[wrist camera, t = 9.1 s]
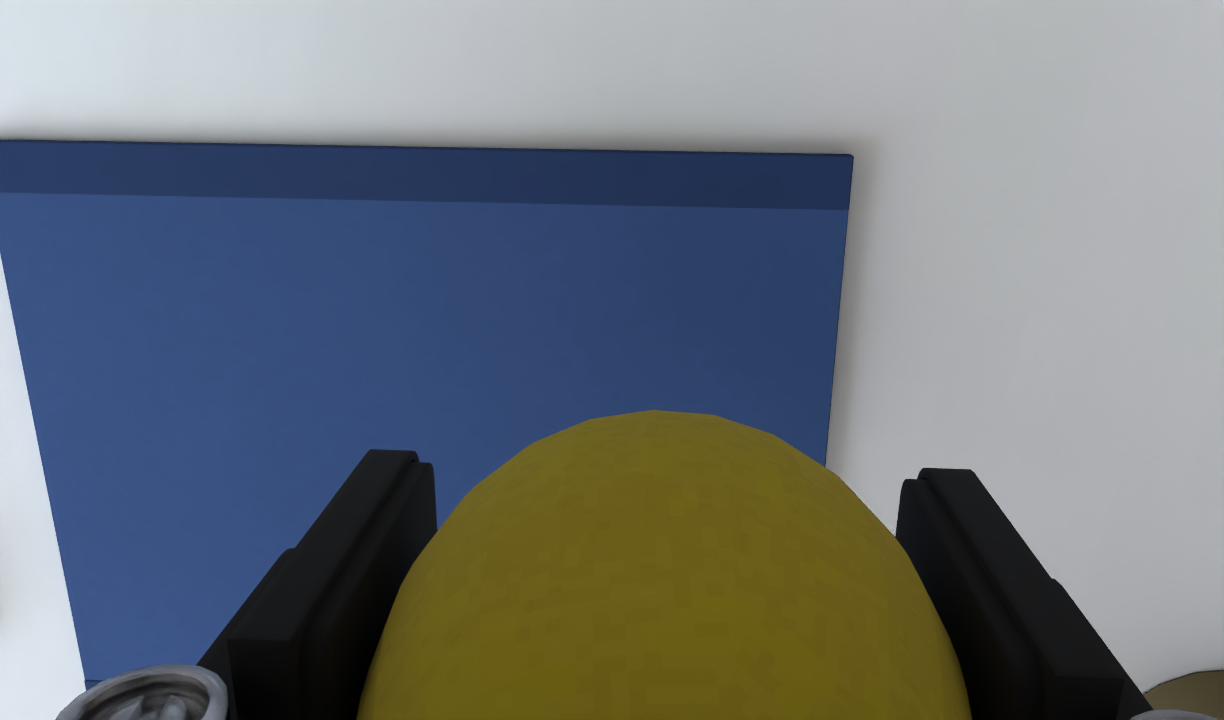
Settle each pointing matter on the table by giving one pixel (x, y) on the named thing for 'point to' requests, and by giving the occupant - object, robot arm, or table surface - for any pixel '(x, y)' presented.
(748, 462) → the lemon
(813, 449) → the blue rectangular board
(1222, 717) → the olive pawn
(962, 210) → the table surface
